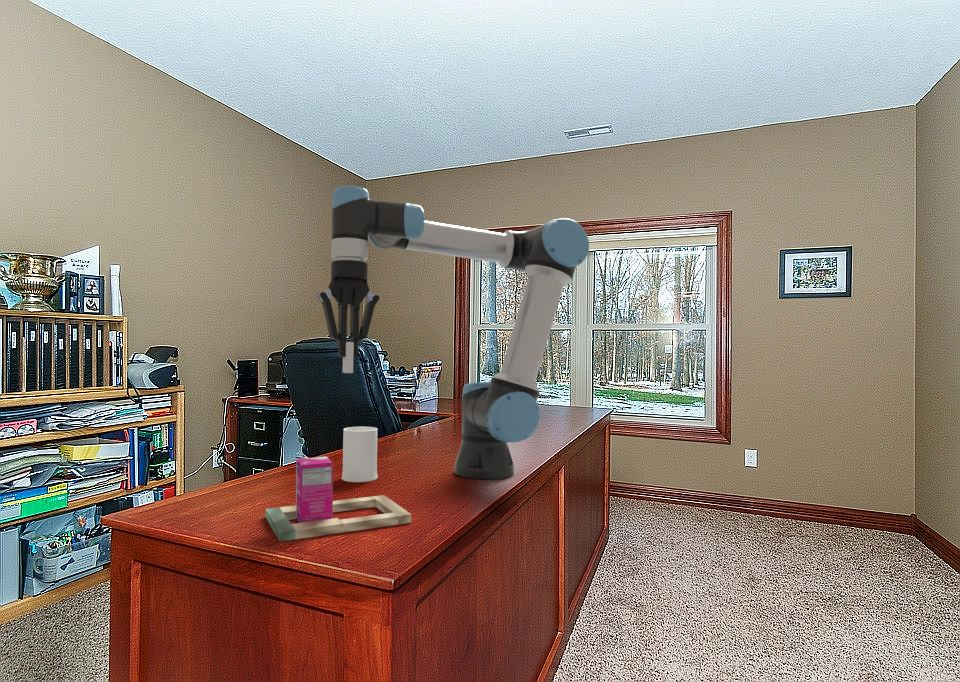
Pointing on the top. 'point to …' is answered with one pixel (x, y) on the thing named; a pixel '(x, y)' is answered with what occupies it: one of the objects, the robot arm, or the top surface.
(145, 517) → the top surface
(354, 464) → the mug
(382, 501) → the cream and green frame
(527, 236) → the robot arm
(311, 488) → the supplement box
